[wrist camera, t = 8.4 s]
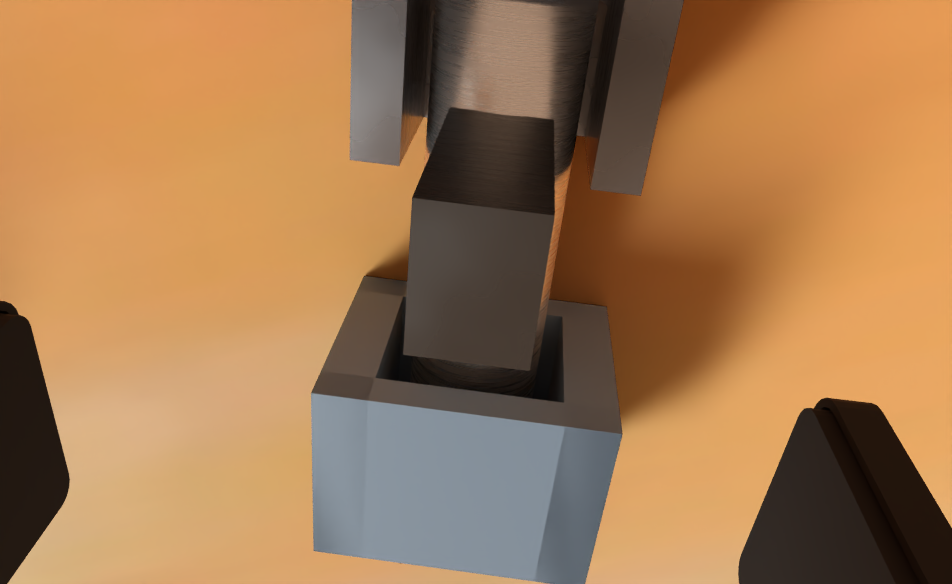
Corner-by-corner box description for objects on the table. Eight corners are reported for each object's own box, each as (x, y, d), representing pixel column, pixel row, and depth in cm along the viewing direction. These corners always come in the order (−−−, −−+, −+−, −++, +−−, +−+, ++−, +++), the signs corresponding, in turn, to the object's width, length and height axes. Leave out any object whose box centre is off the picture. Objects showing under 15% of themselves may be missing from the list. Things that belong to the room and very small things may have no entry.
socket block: (364, 275, 26) (311, 393, 20) (606, 306, 25) (622, 434, 20) (360, 414, 29) (313, 550, 23) (577, 443, 28) (583, 588, 23)
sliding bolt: (447, -30, 19) (375, 46, 12) (595, -12, 19) (624, 75, 11) (416, 402, 26) (358, 633, 18) (524, 417, 26) (513, 655, 18)
